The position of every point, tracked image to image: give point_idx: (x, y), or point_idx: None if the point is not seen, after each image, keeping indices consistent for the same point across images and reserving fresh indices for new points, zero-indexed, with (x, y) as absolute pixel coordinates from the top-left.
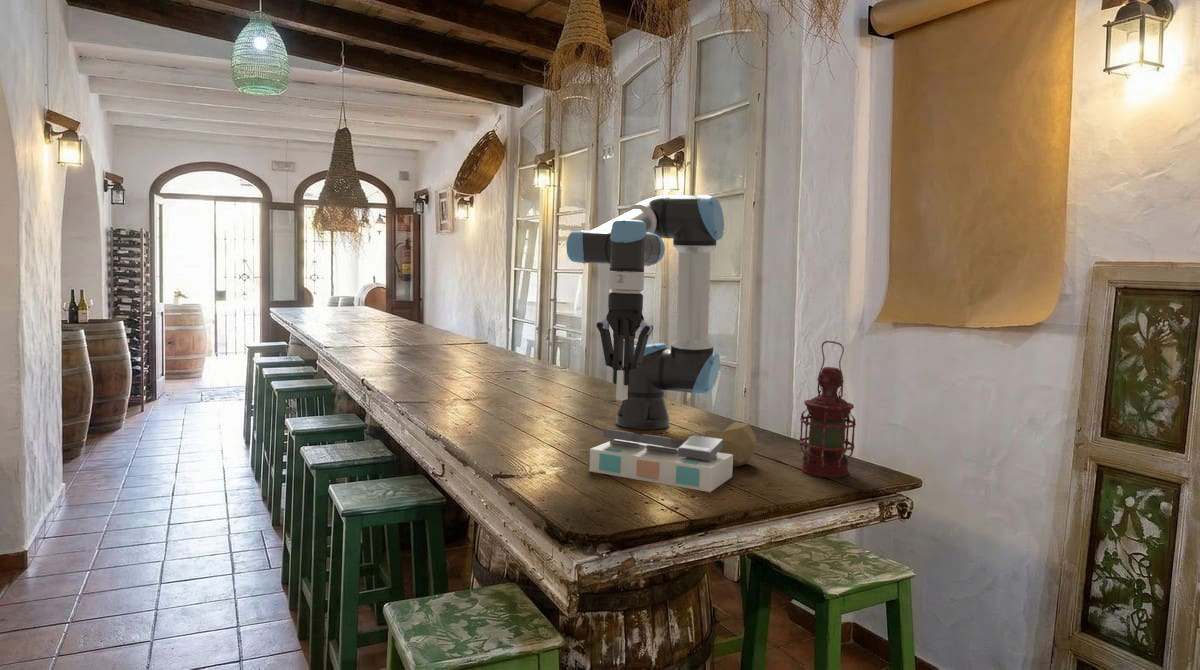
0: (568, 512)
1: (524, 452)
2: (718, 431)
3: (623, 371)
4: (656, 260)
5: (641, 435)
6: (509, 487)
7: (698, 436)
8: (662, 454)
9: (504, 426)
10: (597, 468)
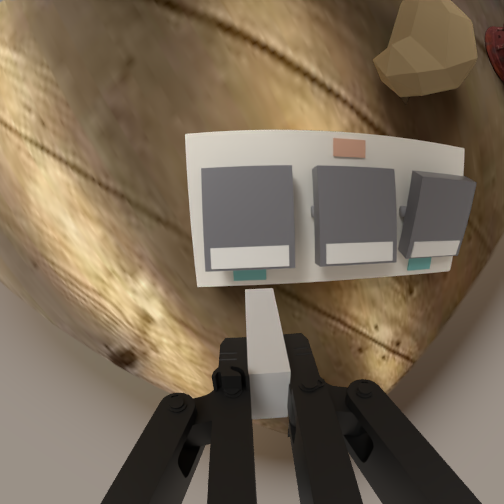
0: None
1: (40, 224)
2: (438, 69)
3: (287, 412)
4: None
5: (321, 266)
6: (170, 392)
7: (435, 181)
8: None
9: None
10: None
